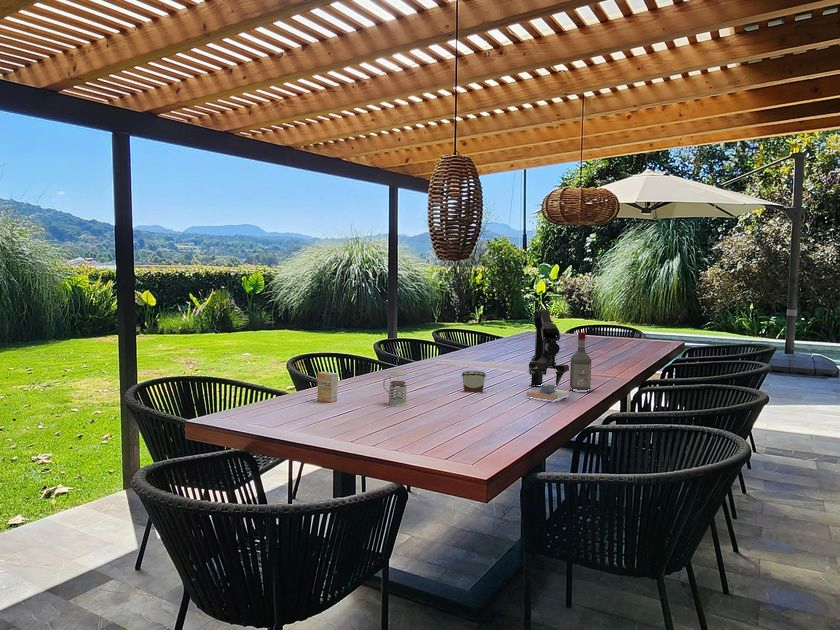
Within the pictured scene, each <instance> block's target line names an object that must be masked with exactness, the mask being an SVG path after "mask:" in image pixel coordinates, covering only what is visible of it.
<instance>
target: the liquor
mask: <svg viewBox="0 0 840 630" xmlns="http://www.w3.org/2000/svg"><path fill="white" fill-rule="evenodd" d="M577 334H578V335H577V339H578V341H577V351H575V353H574V354H573V355H572V356H571V358H570V366H569V371H570V372H569V373H570V375H569V376H570V377H569V388H570V387H571V388H572V389H577V390H588V389H590V390H591V384H592V383H591V381H592V379H591V378H592V358H591V357H590V355H589V354H588V353H587V352H586V334H587V333H586V332H585V331H584V332H580V331H579V332H578V333H577Z"/></svg>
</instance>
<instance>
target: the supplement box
mask: <svg viewBox="0 0 840 630" xmlns="http://www.w3.org/2000/svg"><path fill="white" fill-rule="evenodd" d="M338 375H339V373H337V372H331V371H330V372H329V371H325V370H324V371H318V372H317V391H316V392H317V397H316V399H317V401H319V402H324V403H325V402H326V403H330V404H331V403H334V402H337V401H338V381H339V380H338Z"/></svg>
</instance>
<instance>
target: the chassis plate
mask: <svg viewBox="0 0 840 630" xmlns="http://www.w3.org/2000/svg"><path fill="white" fill-rule="evenodd" d="M540 391H541V387H539V388H536V389H533V390H529V391H527V392H526V398H527V397H533V398H540V399H547V400H555V399H558V398H561V397H563V396H566V395H570V391H569V390H562V389H555V391H554V393H551V394H547V393H541V392H540Z"/></svg>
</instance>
